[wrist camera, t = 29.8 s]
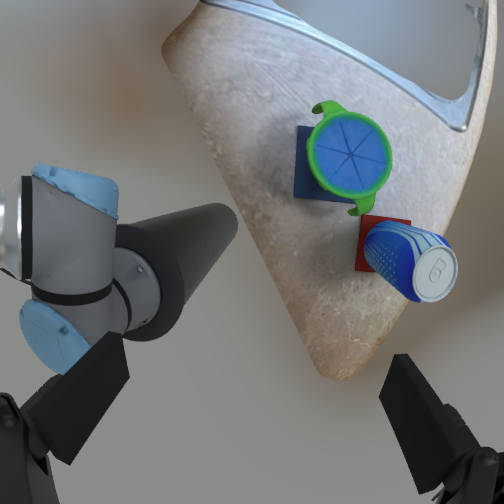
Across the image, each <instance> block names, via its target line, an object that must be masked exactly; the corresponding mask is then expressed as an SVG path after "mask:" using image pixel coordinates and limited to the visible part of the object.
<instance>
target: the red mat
mask: <svg viewBox="0 0 504 504" xmlns="http://www.w3.org/2000/svg"><path fill="white" fill-rule="evenodd" d="M388 220H390V221H396V222H399V223H402V224H406V225H409V226H411V221H410V220H403V219H396V218H388V217H381V216H373V215H365V214H362V217H361V226H360V235H359V243H358V250H357V257H356V264H355V271H364V272H376V271H375V270H373V269H372V268H371V267H370V266H369V264H368V263H367V261H366V258H365V255H364V243H365V240H366V237H367V235H368V233H369V232H370V230H371V229H372V228H373V227H374V226H375V225H377V224H378V223H380V222H383V221H388Z"/></svg>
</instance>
